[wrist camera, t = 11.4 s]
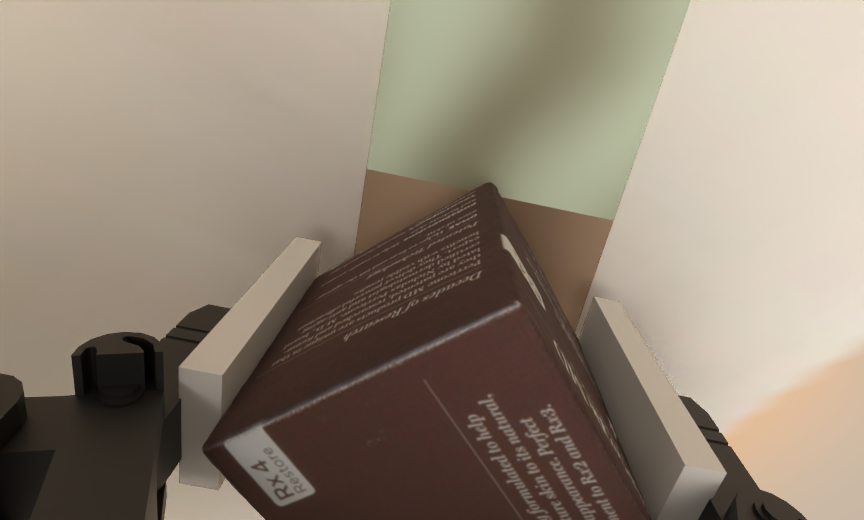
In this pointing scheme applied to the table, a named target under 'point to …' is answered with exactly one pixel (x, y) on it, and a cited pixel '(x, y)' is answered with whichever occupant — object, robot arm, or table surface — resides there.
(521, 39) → the track
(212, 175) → the table surface
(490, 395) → the box
